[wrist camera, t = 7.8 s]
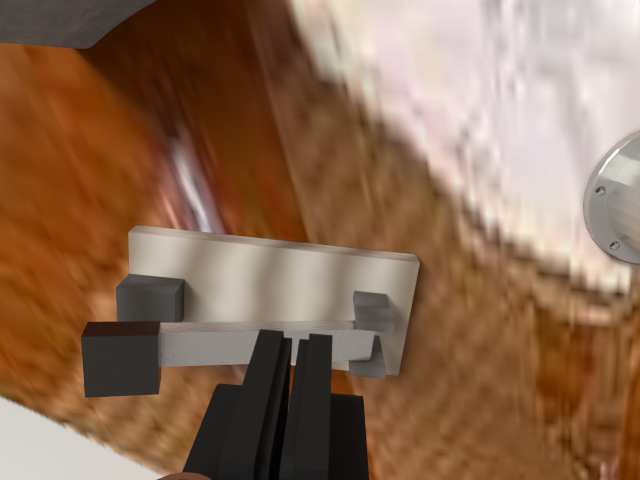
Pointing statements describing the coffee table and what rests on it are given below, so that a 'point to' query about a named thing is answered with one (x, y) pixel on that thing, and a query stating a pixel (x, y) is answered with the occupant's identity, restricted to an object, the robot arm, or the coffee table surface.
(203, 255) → the base
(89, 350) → the lever
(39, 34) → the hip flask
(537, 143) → the coffee table surface
